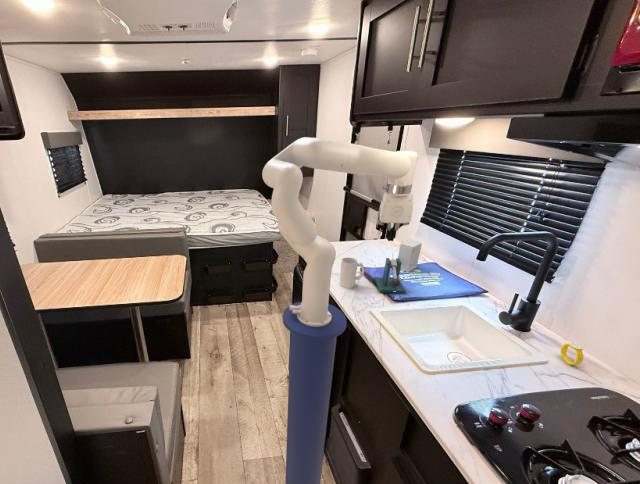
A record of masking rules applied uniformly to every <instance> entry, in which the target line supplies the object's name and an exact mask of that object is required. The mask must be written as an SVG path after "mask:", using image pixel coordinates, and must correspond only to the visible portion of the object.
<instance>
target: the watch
mask: <svg viewBox="0 0 640 484" xmlns="http://www.w3.org/2000/svg"><path fill="white" fill-rule="evenodd" d="M568 348H570V349H572V350H574V351H575V353H576V359H575V361H574V362H573V361H572V360H571V359H570V358H569V357H568V354H567V353H568ZM583 350H584V347H583V346H582V345H581V344H579V343H576V342H570V343H564V344H563V345H562V346H561V348H560V356H561V358H562V359H563V360H564V361H565V362H566V363H567V365H570V366H578V365H580V364H582V362H583V361H584V353H583Z"/></svg>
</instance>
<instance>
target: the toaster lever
mask: <svg viewBox="0 0 640 484" xmlns="http://www.w3.org/2000/svg"><path fill="white" fill-rule="evenodd" d="M390 261H391V266H390V269H391V271H392V278H394V279H393V280H392V285H394V286H399V285H400V282H401V280H400V279H399V278H398V279H397V274H396V266H397V262H396V259H390Z"/></svg>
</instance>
